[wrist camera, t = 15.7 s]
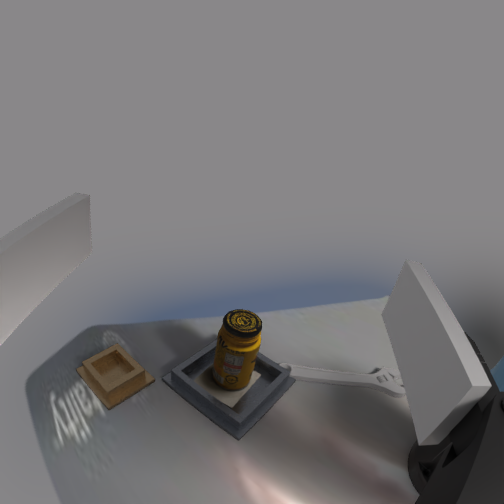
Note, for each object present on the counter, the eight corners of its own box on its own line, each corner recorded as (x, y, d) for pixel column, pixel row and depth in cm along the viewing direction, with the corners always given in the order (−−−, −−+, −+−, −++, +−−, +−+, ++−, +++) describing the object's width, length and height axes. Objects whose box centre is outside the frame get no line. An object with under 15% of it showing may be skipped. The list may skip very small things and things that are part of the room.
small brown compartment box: (154, 381, 44) (154, 370, 43) (108, 410, 38) (105, 400, 36) (120, 348, 49) (119, 337, 47) (76, 371, 42) (73, 360, 41)
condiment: (261, 375, 49) (277, 319, 43) (231, 408, 42) (245, 353, 37) (223, 354, 52) (233, 297, 46) (191, 383, 45) (196, 325, 40)
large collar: (294, 381, 49) (299, 371, 48) (238, 440, 38) (241, 431, 37) (224, 337, 56) (226, 326, 55) (161, 379, 45) (161, 369, 44)
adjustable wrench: (274, 379, 50) (276, 372, 49) (278, 353, 56) (280, 346, 55) (408, 400, 48) (413, 394, 47) (403, 375, 54) (407, 369, 53)
